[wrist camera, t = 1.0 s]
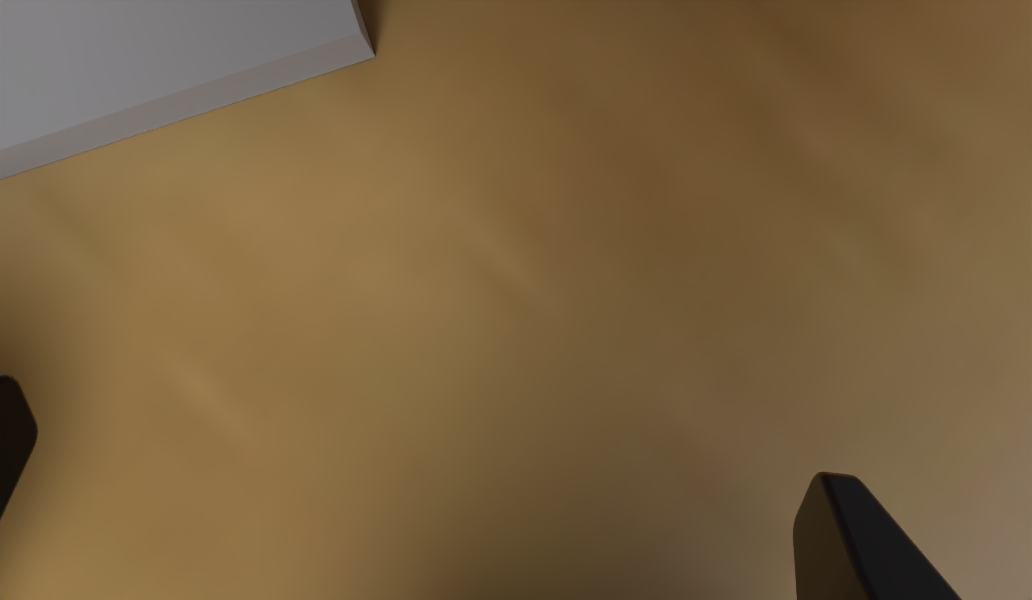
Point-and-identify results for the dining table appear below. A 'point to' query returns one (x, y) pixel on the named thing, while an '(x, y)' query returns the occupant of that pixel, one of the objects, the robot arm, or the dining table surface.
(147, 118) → the grey flat block
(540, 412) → the dining table surface
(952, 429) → the dining table surface
